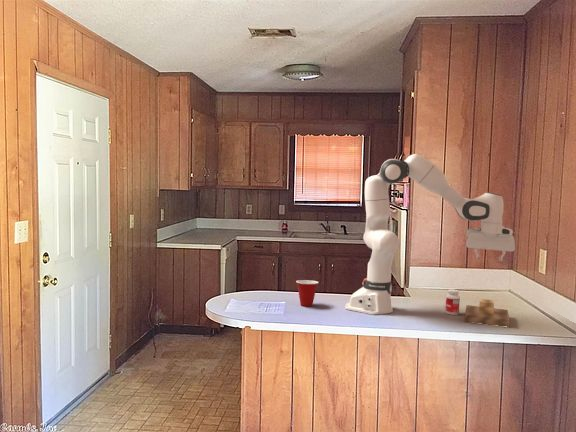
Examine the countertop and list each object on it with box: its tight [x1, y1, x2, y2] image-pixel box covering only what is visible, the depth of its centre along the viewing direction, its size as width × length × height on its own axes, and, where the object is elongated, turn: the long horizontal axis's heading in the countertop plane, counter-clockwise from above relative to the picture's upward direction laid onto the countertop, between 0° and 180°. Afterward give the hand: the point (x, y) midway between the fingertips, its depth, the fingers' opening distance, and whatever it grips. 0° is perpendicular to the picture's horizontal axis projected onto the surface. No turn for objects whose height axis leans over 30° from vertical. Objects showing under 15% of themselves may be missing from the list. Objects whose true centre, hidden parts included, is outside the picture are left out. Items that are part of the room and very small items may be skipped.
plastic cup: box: [295, 279, 319, 308], centre depth 236 cm, size 11×11×12 cm
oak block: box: [478, 298, 495, 314], centre depth 221 cm, size 6×6×5 cm
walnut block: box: [464, 304, 510, 328], centre depth 221 cm, size 18×18×4 cm
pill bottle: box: [444, 288, 461, 316], centre depth 229 cm, size 6×6×11 cm
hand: (489, 259), depth 219 cm, fingers open, 8 cm apart
